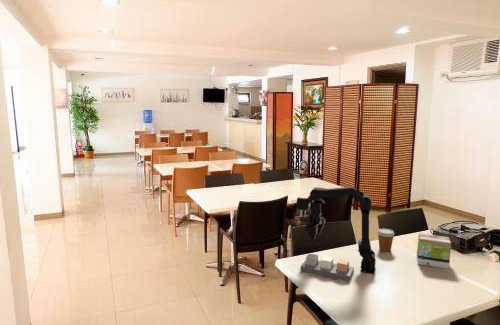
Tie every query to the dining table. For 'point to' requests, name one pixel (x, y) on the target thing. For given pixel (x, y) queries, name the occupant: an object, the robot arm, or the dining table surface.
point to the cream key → (327, 263)
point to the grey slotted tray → (327, 271)
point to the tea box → (433, 251)
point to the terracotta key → (343, 266)
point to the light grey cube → (312, 260)
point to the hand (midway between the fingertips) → (314, 239)
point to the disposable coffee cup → (385, 239)
